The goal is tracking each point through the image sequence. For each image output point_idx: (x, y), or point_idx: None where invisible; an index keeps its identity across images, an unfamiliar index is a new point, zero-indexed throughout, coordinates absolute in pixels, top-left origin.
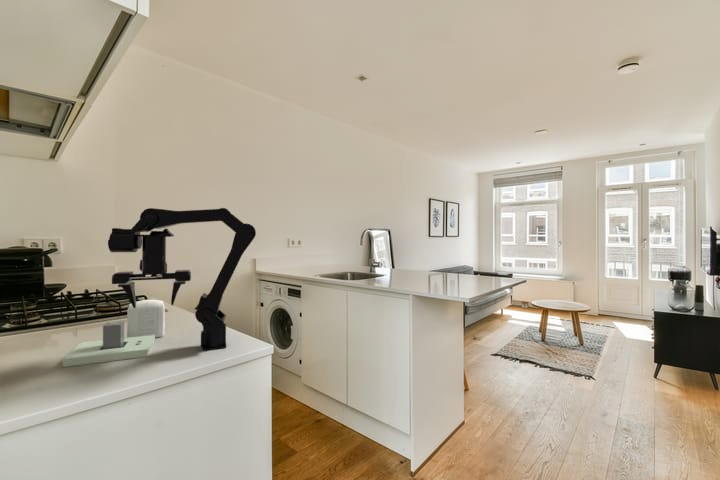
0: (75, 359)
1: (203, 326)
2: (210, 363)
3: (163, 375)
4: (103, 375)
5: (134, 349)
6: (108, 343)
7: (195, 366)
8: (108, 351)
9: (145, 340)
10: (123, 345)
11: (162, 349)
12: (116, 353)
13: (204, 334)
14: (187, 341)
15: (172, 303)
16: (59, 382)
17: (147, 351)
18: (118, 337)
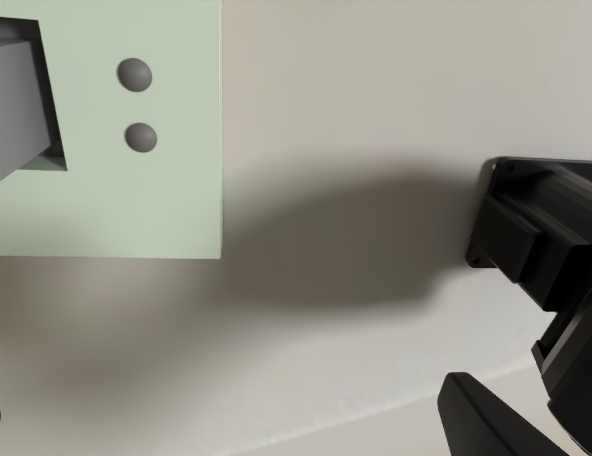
0: None
1: (539, 366)
2: None
3: (300, 423)
4: (102, 373)
5: (150, 236)
6: None
7: (398, 394)
8: (4, 217)
9: (171, 57)
10: (30, 62)
11: (287, 152)
12: (69, 255)
13: (522, 285)
14: (437, 46)
15: (458, 434)
16: None
17: (221, 245)
18: None
